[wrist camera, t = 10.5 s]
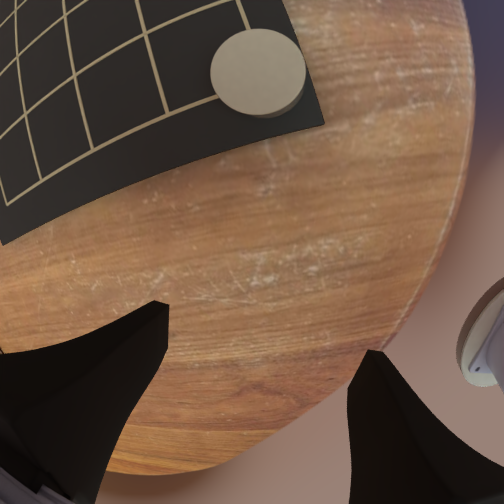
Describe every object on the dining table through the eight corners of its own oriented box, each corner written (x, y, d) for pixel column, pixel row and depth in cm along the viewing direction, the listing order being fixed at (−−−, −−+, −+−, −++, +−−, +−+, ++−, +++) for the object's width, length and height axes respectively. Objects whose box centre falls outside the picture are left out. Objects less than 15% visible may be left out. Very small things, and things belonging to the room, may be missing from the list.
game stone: (310, 52, 14) (312, 35, 11) (297, 125, 15) (296, 122, 13) (232, 41, 14) (218, 24, 11) (218, 112, 16) (202, 108, 13)
